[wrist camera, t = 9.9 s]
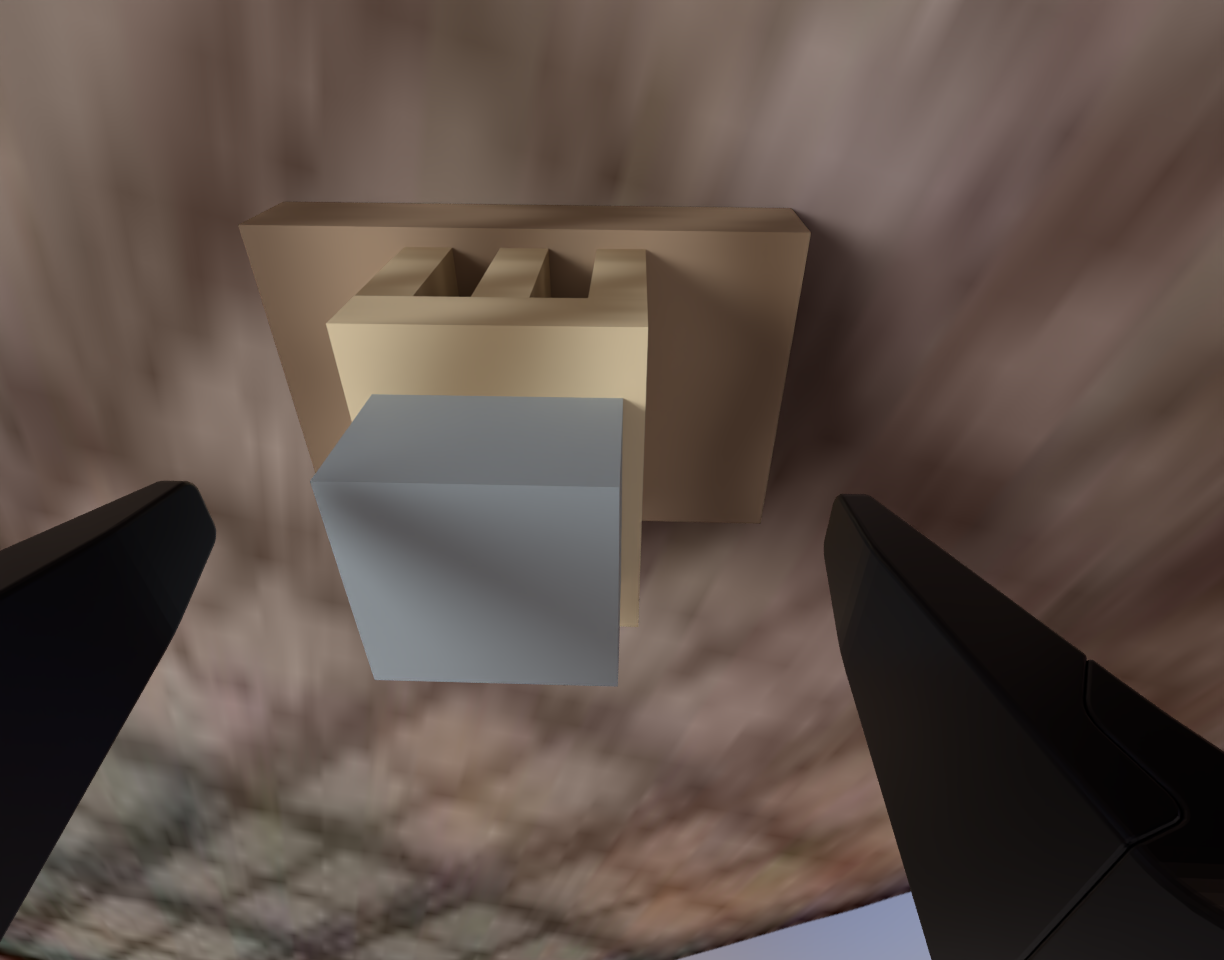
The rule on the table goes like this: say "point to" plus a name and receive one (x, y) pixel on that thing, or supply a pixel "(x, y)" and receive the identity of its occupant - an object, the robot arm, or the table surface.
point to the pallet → (508, 348)
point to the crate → (481, 536)
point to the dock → (676, 297)
